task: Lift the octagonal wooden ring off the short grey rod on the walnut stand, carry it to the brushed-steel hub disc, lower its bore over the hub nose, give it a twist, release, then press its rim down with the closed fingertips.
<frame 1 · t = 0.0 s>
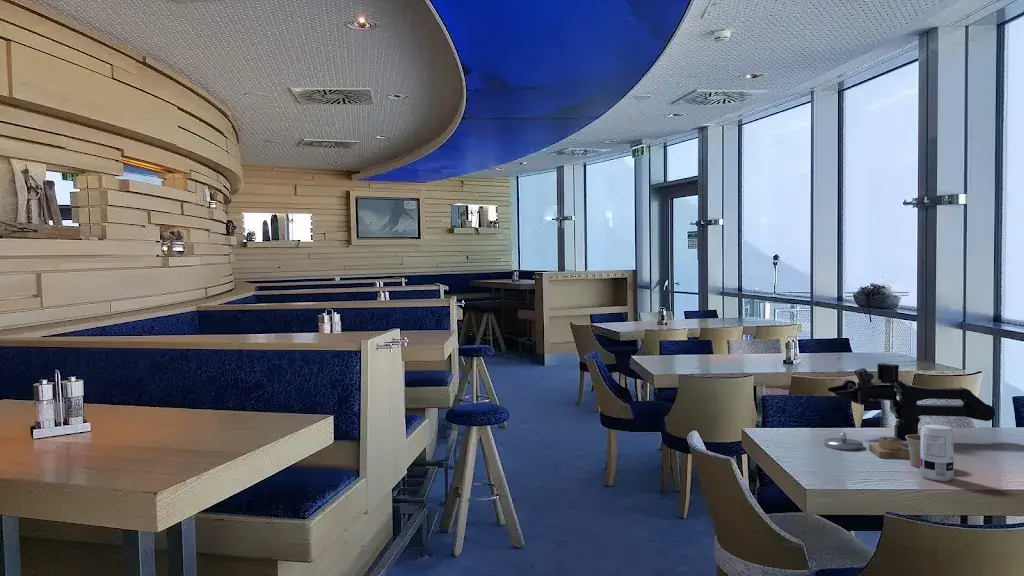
hand: (831, 391, 256), 17 cm above the table, tool horizontal, fingers open, 9 cm apart
octagonal wooden ring: (890, 448, 232), point 2 cm above the table, touching stand
hub: (843, 446, 243), on the table
stand: (890, 454, 232), on the table
supplement can: (936, 478, 205), on the table
flower pot: (922, 466, 218), on the table
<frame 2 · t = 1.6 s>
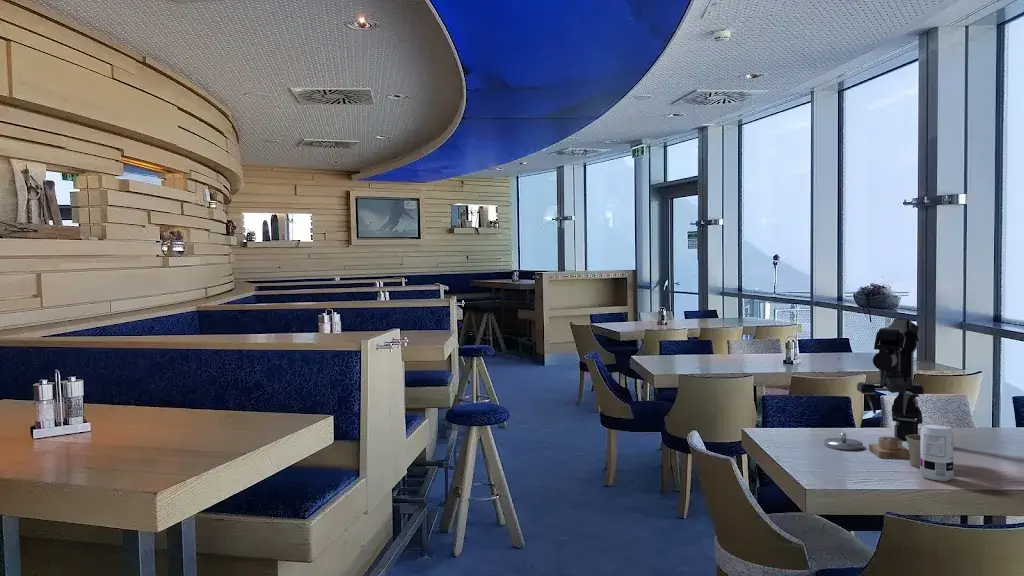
hand: (889, 414, 231), 13 cm above the table, tool pointing down, fingers open, 9 cm apart
nothing on the table moved.
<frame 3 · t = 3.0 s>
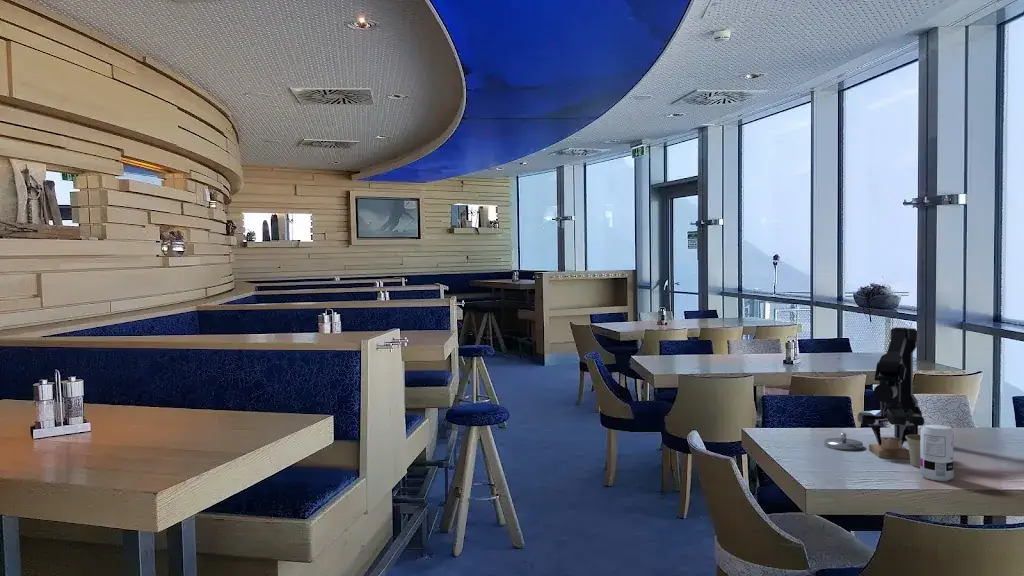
hand: (890, 445, 232), 3 cm above the table, tool pointing down, fingers closed on octagonal wooden ring, 6 cm apart
octagonal wooden ring: (890, 448, 232), point 2 cm above the table, touching gripper, stand
everything else where it was.
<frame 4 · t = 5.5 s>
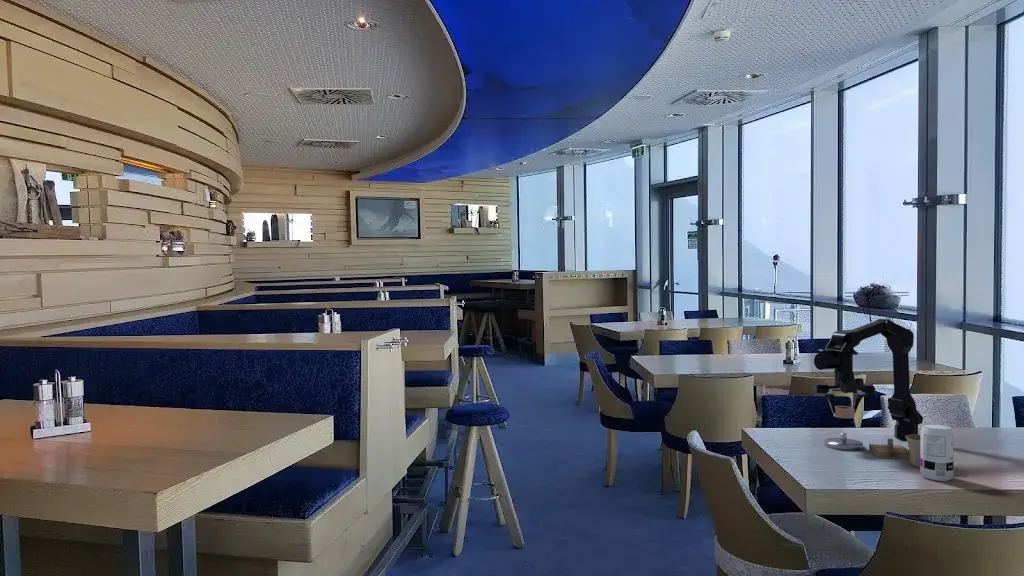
hand: (843, 413, 242), 11 cm above the table, tool pointing down, fingers closed on octagonal wooden ring, 6 cm apart
octagonal wooden ring: (843, 416, 242), point 10 cm above the table, touching gripper
everything else where it was.
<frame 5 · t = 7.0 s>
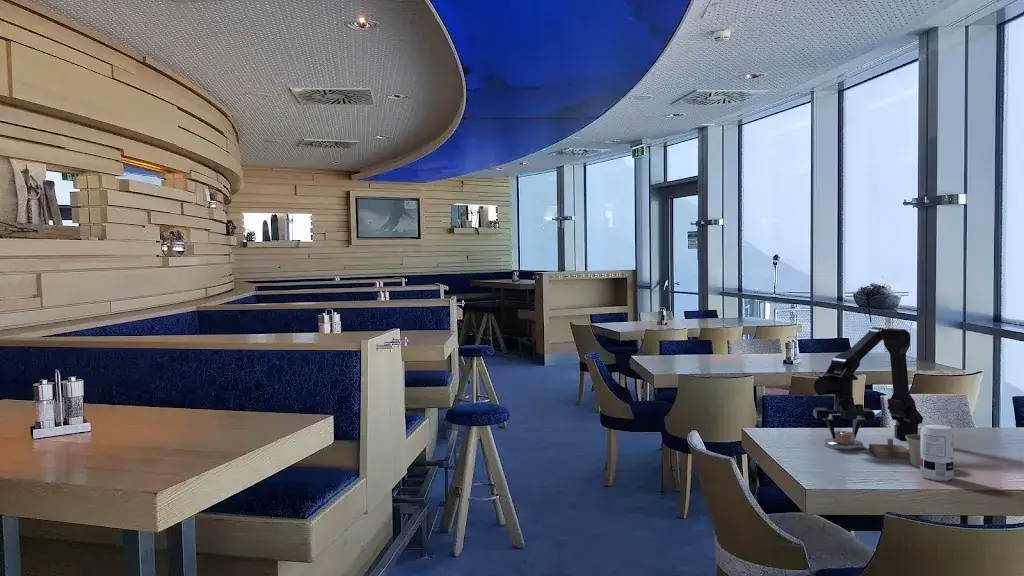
hand: (843, 438, 243), 3 cm above the table, tool pointing down, fingers closed on octagonal wooden ring, 6 cm apart
octagonal wooden ring: (843, 441, 242), point 2 cm above the table, touching gripper
everything else where it was.
when the fingers open (2 cm above the table, at t = 7.8 s): octagonal wooden ring stays where it is, resting on hub.
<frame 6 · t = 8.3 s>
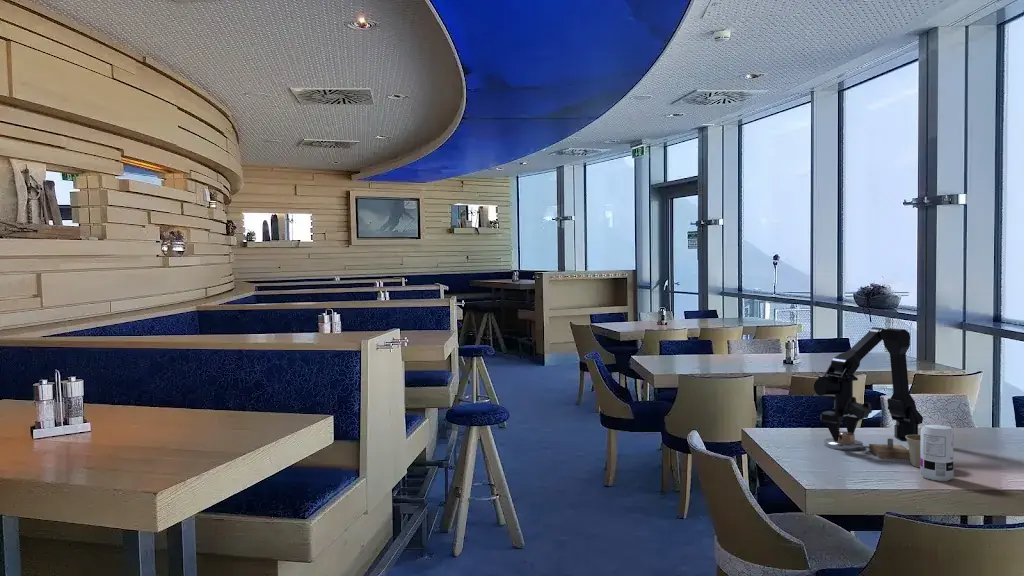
hand: (843, 439, 243), 2 cm above the table, tool pointing down, fingers open, 9 cm apart
octagonal wooden ring: (843, 442, 243), point 1 cm above the table, touching hub
everything else where it was.
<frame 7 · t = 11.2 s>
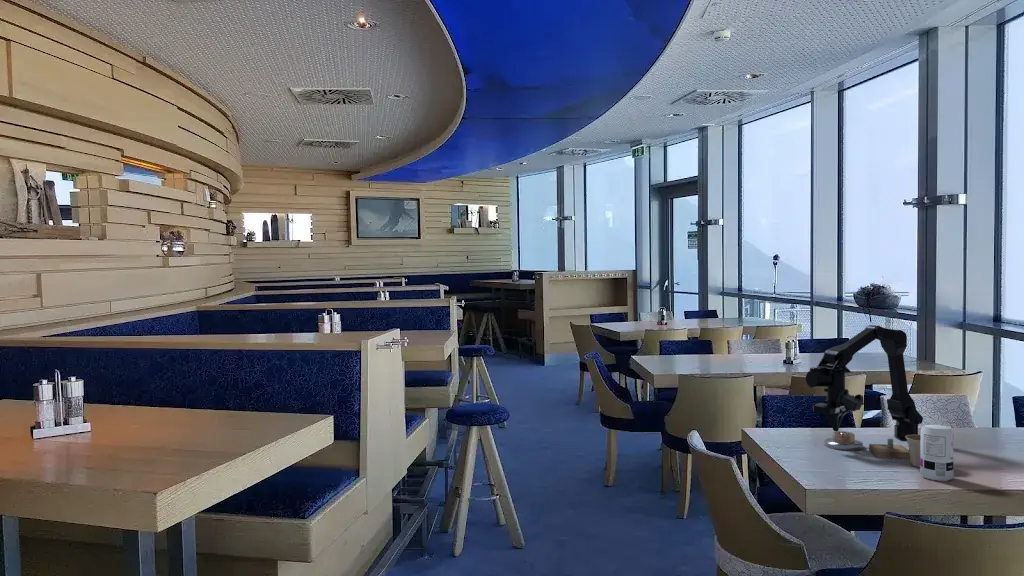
hand: (835, 431, 243), 5 cm above the table, tool pointing down, fingers closed
nothing on the table moved.
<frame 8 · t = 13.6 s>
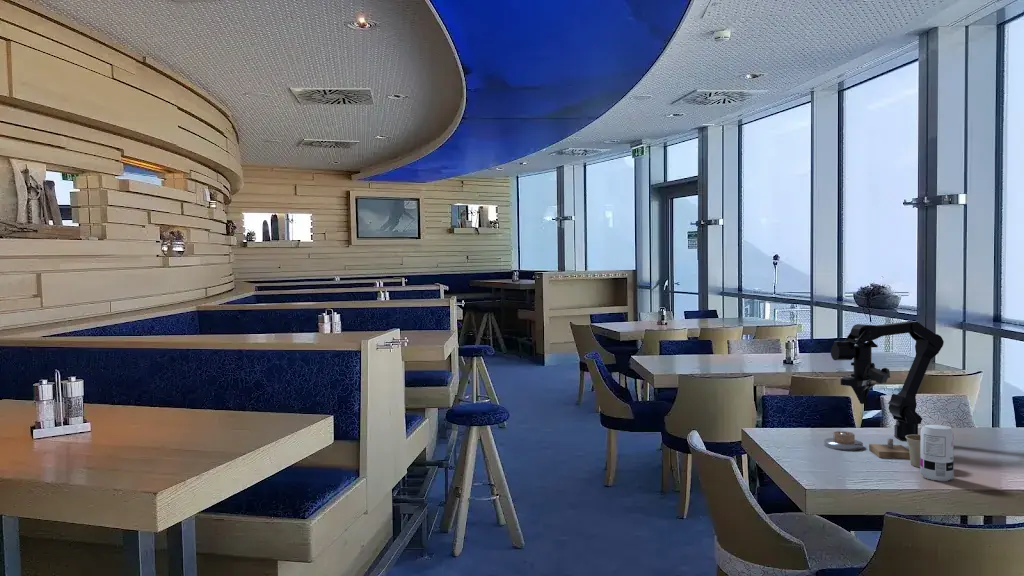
hand: (862, 403, 251), 13 cm above the table, tool pointing down, fingers closed
nothing on the table moved.
at the end: octagonal wooden ring 0.1 cm off-centre on the hub, point 1.5 cm above the hub's base; the gripper is holding nothing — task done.
